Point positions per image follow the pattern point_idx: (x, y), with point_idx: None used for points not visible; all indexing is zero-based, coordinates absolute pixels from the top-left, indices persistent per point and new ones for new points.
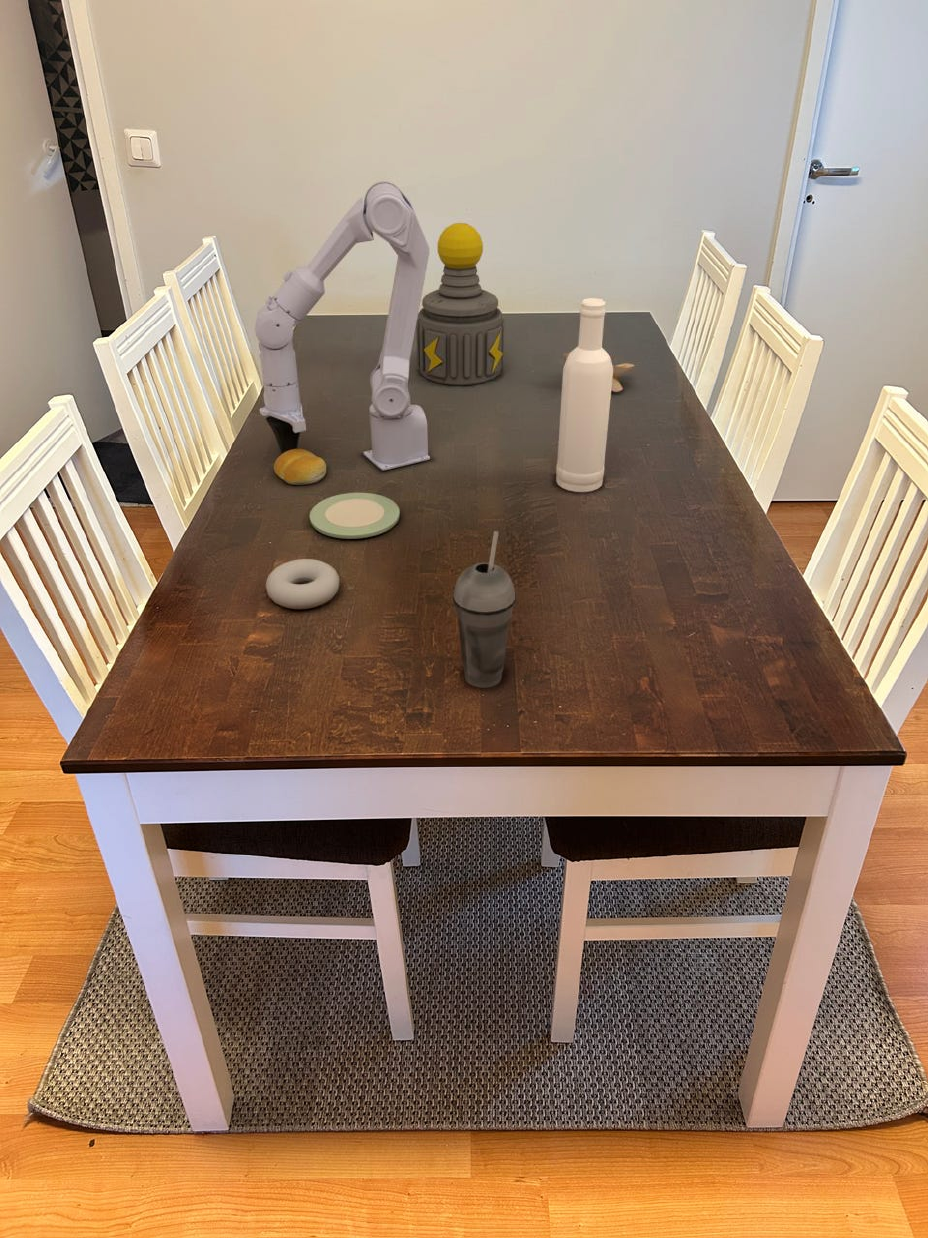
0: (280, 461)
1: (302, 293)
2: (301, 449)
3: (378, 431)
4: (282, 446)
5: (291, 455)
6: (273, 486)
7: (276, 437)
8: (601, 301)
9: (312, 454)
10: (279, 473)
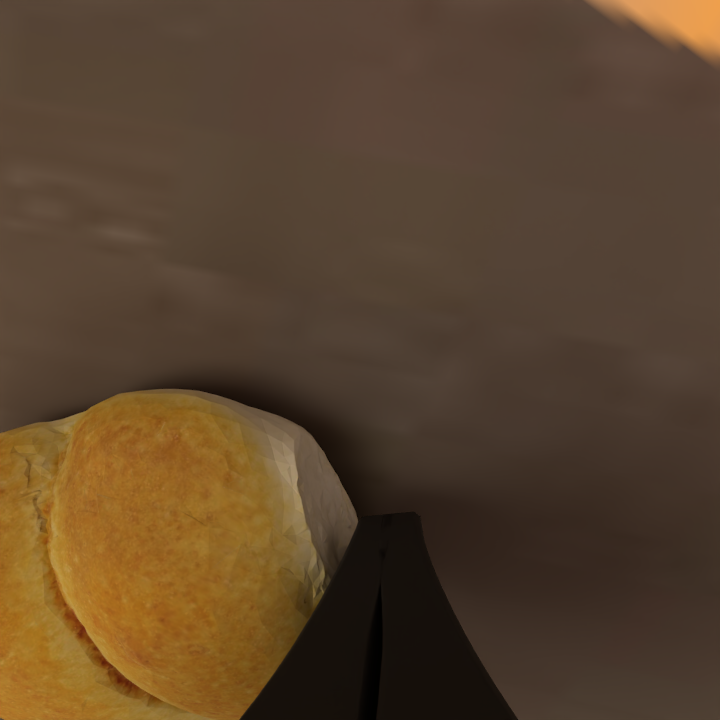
0: (98, 500)
1: None
2: None
3: None
4: (316, 615)
5: (103, 627)
6: (27, 320)
7: (411, 664)
8: None
9: None
10: (81, 419)
